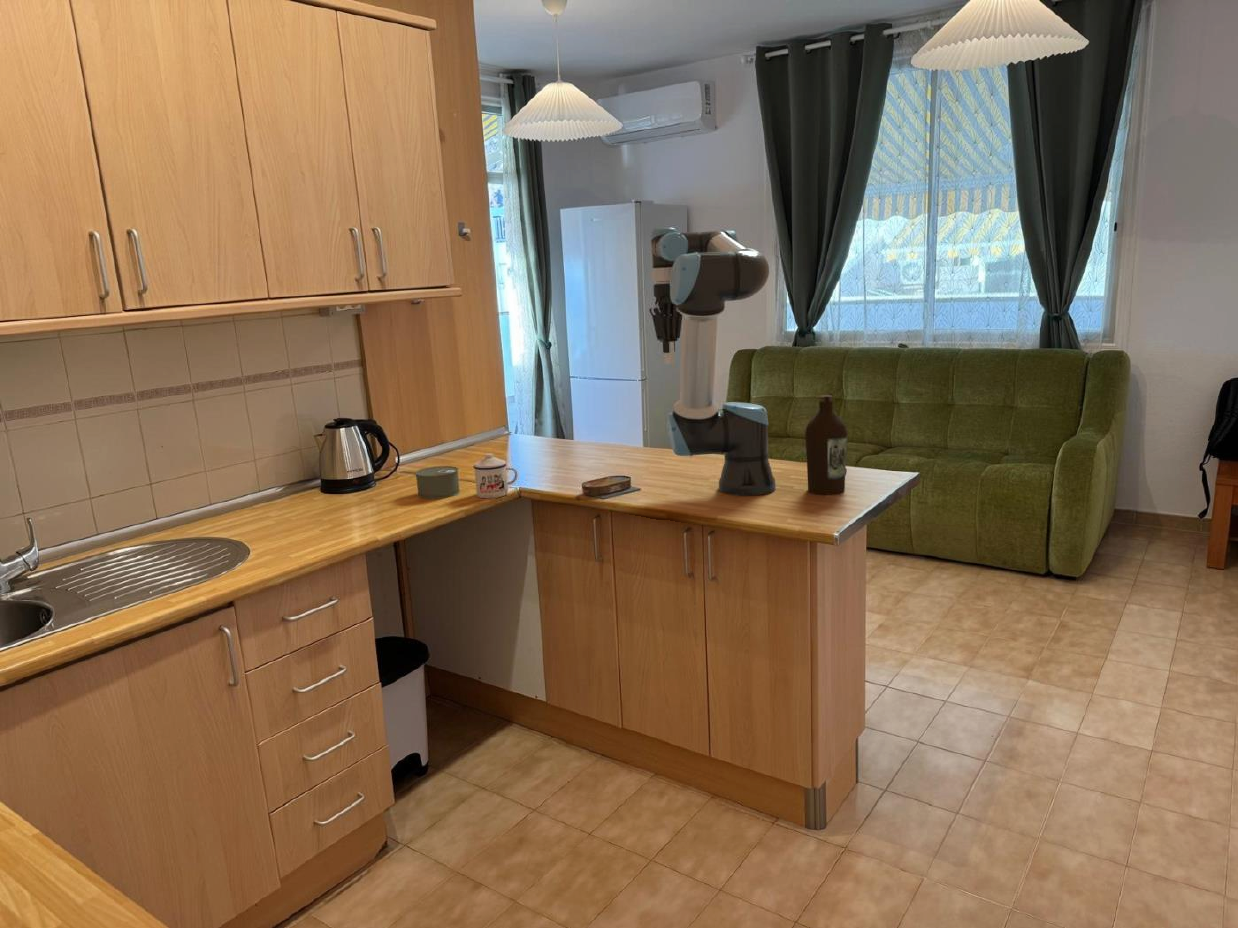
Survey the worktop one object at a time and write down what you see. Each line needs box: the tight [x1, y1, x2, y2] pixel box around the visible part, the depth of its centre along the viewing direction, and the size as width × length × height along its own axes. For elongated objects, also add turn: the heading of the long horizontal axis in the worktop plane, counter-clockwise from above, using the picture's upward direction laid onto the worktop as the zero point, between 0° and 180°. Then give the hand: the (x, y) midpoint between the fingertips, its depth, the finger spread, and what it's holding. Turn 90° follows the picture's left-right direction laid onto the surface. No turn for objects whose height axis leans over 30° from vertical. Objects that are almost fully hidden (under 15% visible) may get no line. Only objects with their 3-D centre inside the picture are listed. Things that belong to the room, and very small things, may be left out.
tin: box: [581, 474, 632, 497], centre depth 240 cm, size 15×3×8 cm
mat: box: [585, 485, 642, 500], centre depth 240 cm, size 9×13×1 cm
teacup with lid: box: [473, 453, 519, 499], centre depth 243 cm, size 12×9×12 cm
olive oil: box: [804, 394, 848, 495], centre depth 226 cm, size 11×11×25 cm
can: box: [415, 465, 461, 500], centre depth 248 cm, size 12×12×7 cm
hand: (669, 363), depth 259 cm, fingers closed
